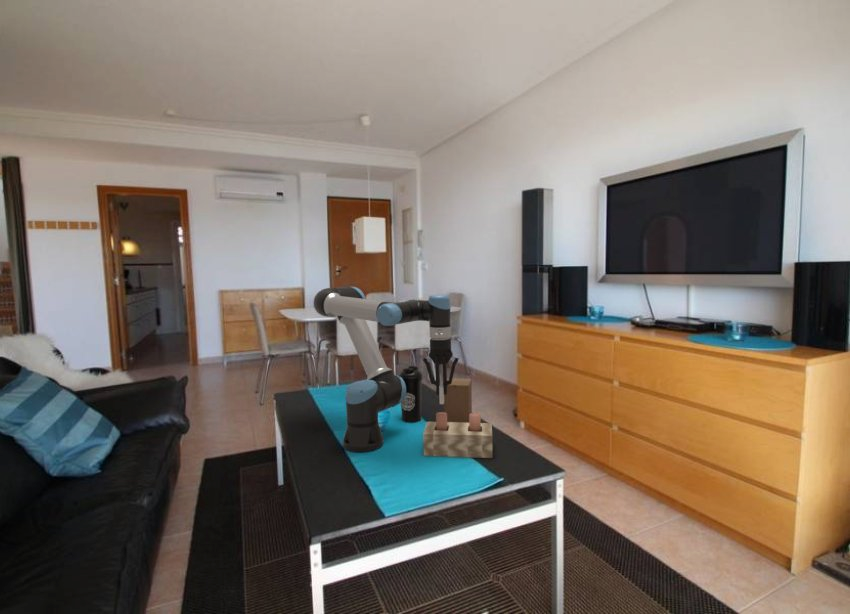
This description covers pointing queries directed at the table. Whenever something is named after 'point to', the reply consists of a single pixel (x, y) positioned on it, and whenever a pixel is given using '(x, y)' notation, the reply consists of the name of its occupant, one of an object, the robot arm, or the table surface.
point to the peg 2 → (475, 422)
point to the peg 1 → (441, 421)
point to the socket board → (458, 440)
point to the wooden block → (458, 400)
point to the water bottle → (412, 394)
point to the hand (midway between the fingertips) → (442, 403)
